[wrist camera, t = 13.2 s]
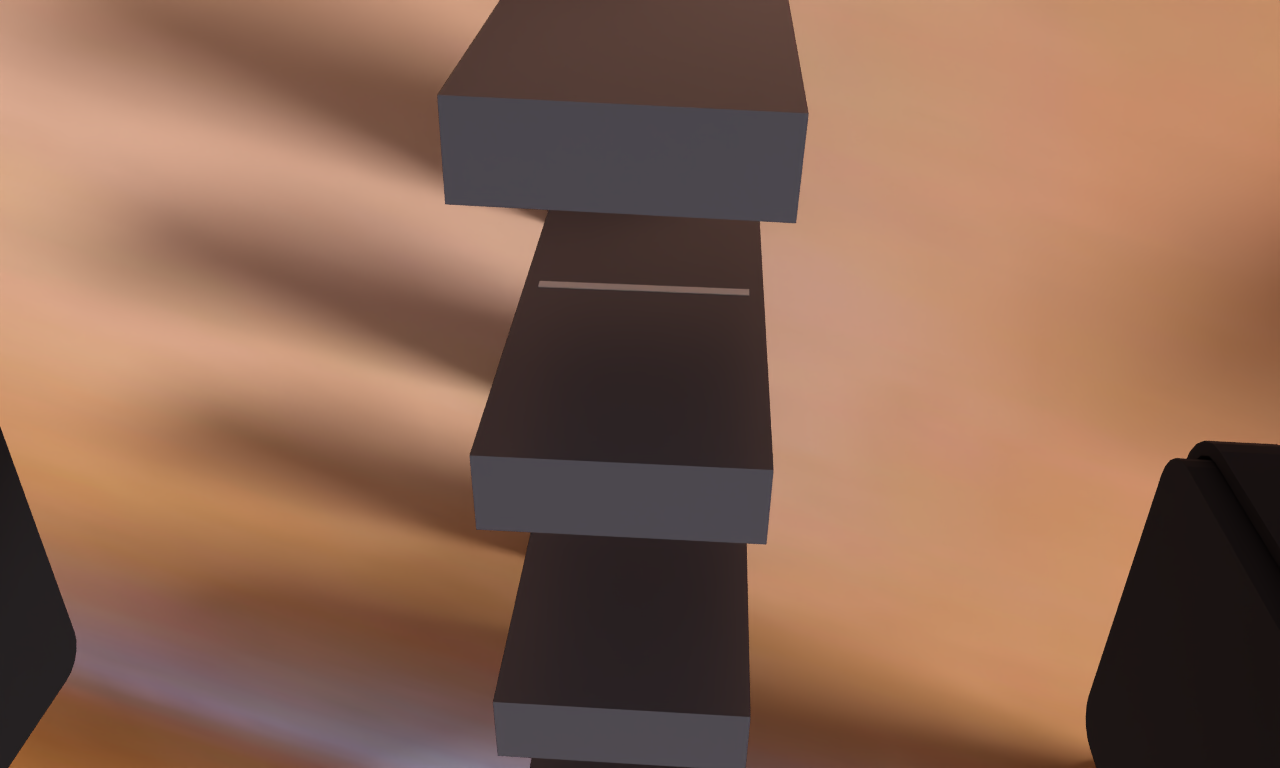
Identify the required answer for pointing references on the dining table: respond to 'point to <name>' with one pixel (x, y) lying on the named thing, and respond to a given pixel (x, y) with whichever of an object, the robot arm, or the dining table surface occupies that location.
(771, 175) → the domino
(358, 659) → the dining table surface
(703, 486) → the domino
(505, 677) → the domino
